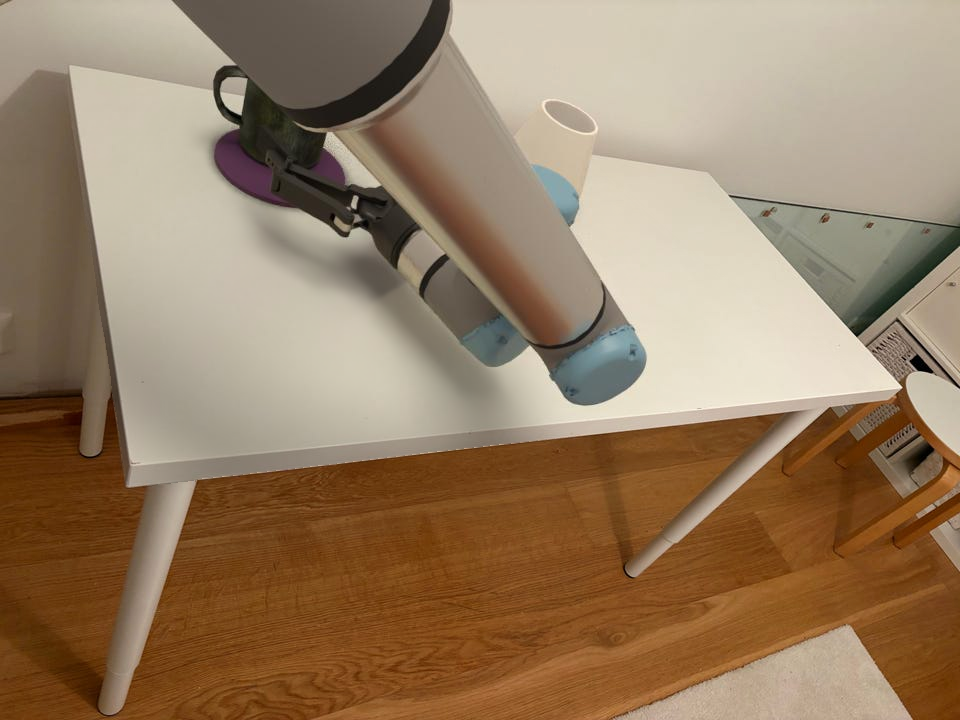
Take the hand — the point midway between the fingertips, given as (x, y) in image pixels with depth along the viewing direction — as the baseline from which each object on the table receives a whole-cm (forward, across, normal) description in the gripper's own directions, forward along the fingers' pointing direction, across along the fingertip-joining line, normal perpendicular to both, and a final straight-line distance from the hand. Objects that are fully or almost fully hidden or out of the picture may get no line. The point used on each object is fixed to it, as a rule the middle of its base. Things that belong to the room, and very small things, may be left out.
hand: (312, 130), depth 84 cm
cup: (-9, +35, -8) cm, 37 cm away
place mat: (+4, 0, -8) cm, 9 cm away
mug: (+8, 0, -8) cm, 11 cm away
